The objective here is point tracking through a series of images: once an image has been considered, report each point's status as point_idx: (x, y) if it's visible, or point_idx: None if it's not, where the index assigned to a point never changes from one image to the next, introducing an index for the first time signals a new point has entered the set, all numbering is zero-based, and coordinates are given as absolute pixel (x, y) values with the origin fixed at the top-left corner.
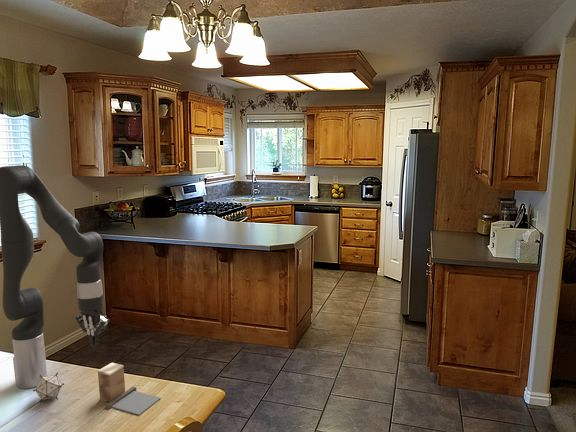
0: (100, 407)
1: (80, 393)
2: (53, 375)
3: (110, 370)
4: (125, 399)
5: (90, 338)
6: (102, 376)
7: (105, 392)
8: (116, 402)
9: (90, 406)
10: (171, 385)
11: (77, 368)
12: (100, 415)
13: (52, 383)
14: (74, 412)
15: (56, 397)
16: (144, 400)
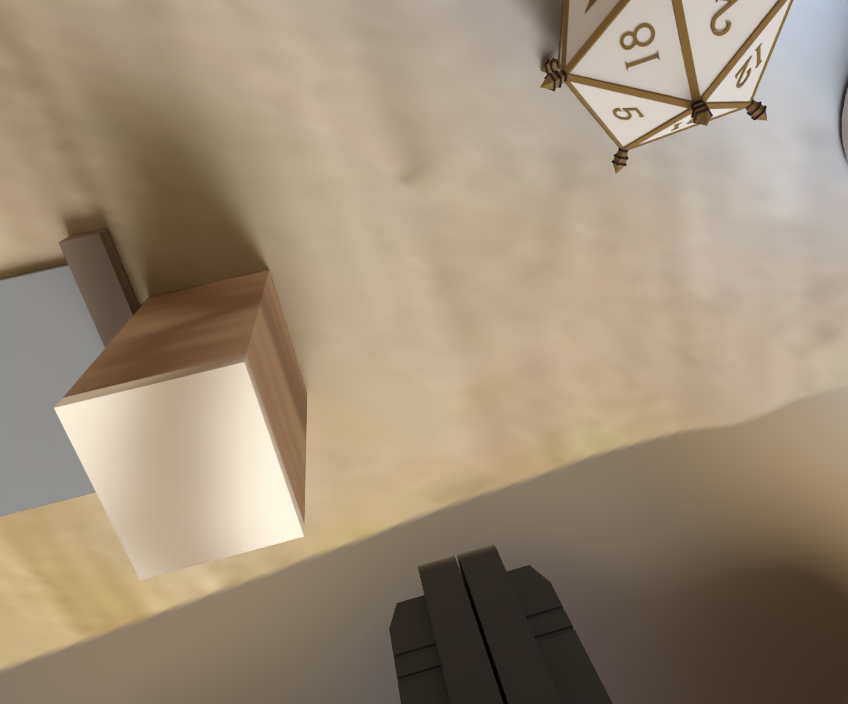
0: (151, 209)
1: (473, 226)
2: (712, 80)
3: (130, 449)
4: None
5: (512, 661)
6: (186, 355)
7: (192, 306)
8: (95, 314)
9: (230, 170)
10: (49, 646)
11: (783, 387)
12: (27, 142)
13: (616, 10)
14: (246, 36)
15: (558, 61)
16: None
